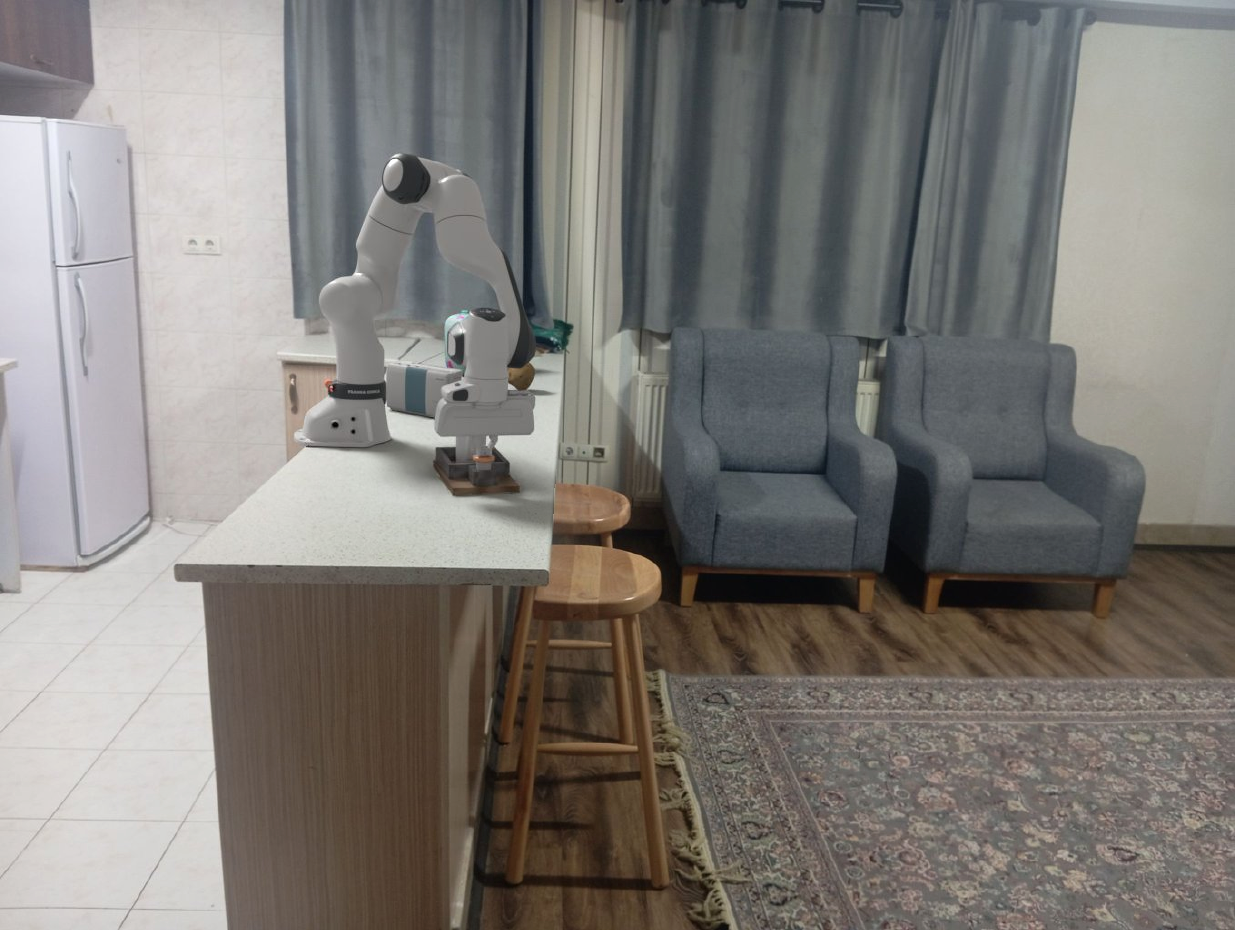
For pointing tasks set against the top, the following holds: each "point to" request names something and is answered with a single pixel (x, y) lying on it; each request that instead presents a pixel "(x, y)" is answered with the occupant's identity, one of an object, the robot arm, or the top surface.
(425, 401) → the stereo radio cassette player
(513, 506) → the top surface
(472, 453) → the mug
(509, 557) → the top surface
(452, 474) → the board
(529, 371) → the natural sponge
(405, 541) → the top surface
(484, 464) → the click button
